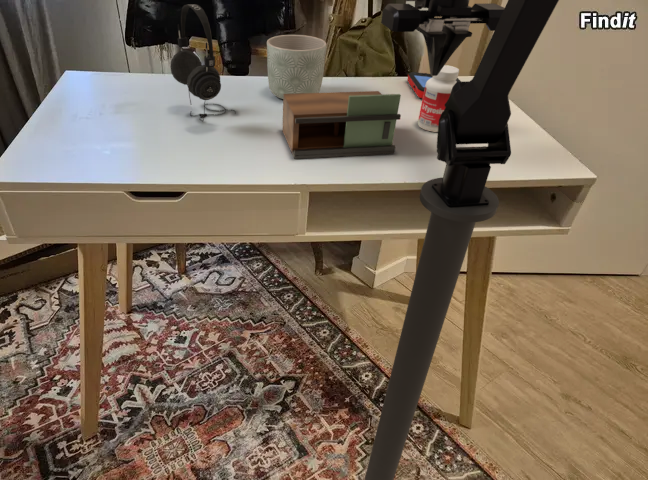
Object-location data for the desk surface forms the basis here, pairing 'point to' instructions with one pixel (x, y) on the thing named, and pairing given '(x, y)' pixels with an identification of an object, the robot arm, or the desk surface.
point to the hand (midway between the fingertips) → (433, 75)
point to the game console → (420, 82)
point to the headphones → (196, 63)
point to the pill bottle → (436, 97)
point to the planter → (295, 64)
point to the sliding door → (371, 130)
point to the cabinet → (325, 125)
